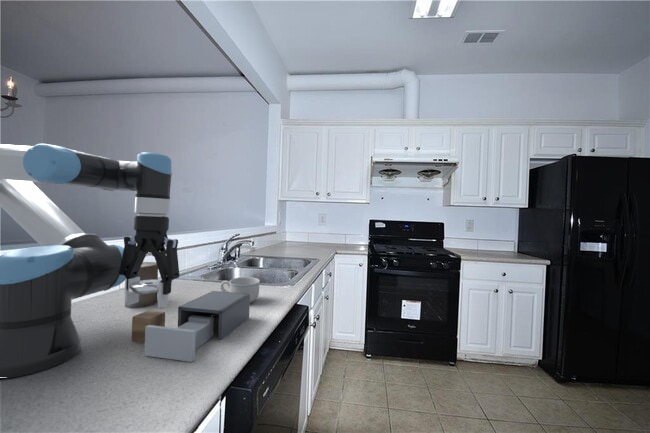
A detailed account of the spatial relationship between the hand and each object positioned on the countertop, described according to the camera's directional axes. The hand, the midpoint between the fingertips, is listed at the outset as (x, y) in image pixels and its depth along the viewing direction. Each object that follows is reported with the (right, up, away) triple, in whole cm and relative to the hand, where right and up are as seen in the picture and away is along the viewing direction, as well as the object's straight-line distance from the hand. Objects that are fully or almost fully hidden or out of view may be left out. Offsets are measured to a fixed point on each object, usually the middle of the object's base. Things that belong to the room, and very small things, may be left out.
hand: (147, 305), depth 70 cm
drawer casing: (+14, -9, +9) cm, 19 cm away
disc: (0, +4, 0) cm, 4 cm away
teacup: (+14, -9, +32) cm, 36 cm away
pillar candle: (-19, -8, +26) cm, 33 cm away
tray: (+12, -9, -4) cm, 15 cm away
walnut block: (0, -8, 0) cm, 8 cm away
